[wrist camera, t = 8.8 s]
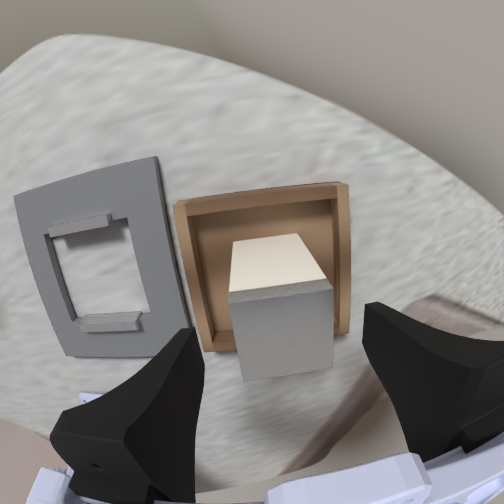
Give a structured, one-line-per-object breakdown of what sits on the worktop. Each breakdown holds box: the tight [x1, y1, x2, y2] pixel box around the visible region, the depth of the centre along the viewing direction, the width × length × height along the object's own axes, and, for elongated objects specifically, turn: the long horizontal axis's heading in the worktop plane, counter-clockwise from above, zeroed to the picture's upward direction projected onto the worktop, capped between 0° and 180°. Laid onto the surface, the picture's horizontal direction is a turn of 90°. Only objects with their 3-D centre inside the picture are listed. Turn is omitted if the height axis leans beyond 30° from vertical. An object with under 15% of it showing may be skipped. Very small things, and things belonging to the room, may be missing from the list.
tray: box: [173, 182, 351, 352], centre depth 19 cm, size 10×10×2 cm
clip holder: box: [14, 156, 191, 357], centre depth 19 cm, size 14×12×2 cm
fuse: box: [228, 233, 334, 381], centre depth 16 cm, size 4×4×8 cm
